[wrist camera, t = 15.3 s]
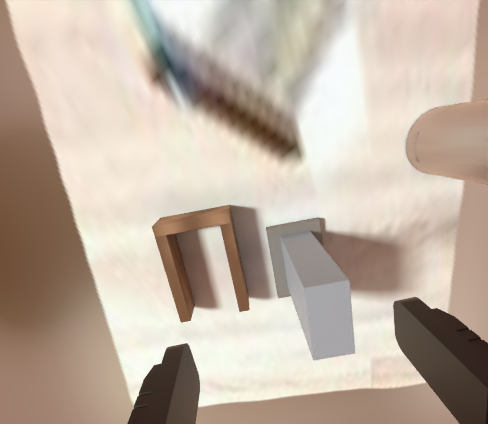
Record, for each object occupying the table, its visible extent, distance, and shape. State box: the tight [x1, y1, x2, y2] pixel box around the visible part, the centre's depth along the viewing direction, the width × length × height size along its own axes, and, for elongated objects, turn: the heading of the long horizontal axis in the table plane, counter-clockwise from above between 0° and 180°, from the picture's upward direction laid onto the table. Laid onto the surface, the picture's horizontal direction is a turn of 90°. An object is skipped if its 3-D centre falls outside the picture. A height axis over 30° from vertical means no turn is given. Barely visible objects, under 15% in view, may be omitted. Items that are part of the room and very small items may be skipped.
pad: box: [266, 218, 323, 298], centre depth 40 cm, size 8×12×1 cm, turn 11°
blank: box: [280, 231, 355, 360], centre depth 33 cm, size 4×9×14 cm, turn 10°
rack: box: [152, 205, 249, 322], centre depth 38 cm, size 10×16×4 cm
